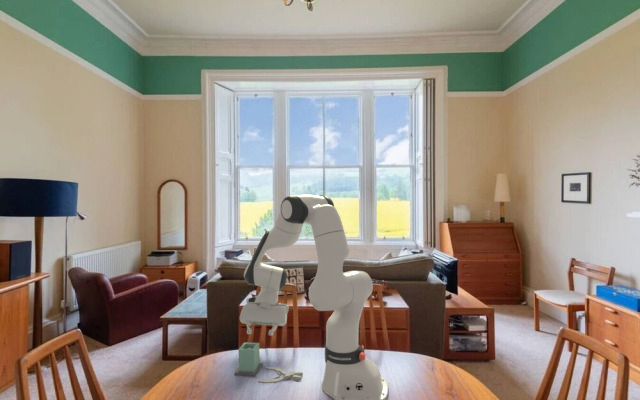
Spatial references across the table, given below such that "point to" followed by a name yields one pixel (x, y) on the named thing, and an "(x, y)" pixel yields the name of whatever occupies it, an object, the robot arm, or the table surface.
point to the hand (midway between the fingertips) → (259, 334)
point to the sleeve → (249, 357)
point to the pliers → (286, 375)
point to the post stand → (245, 373)
